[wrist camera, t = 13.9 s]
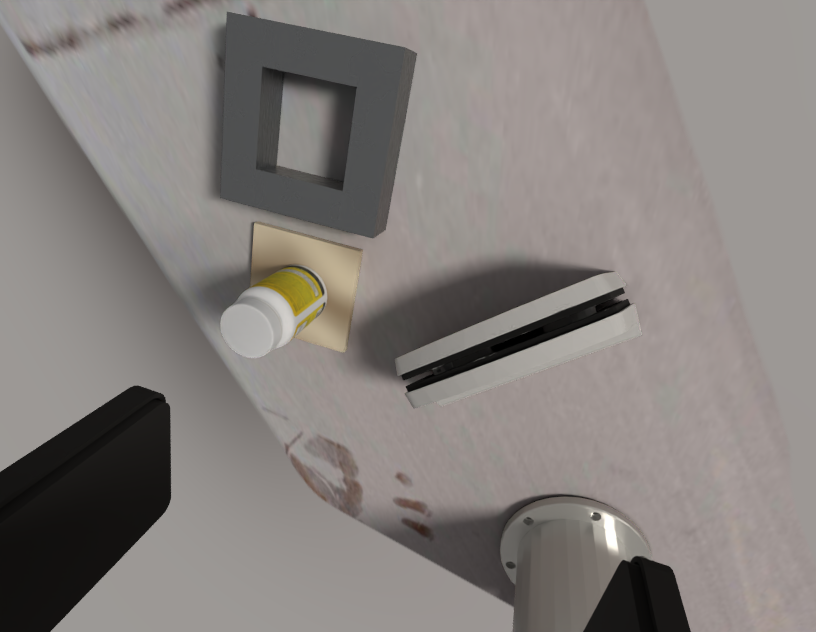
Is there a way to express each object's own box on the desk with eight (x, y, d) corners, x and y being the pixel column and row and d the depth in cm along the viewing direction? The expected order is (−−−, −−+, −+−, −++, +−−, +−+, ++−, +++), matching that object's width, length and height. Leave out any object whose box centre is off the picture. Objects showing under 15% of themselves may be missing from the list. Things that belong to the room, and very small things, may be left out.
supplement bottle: (274, 259, 40) (211, 292, 32) (329, 267, 39) (277, 303, 31) (276, 314, 42) (217, 357, 34) (328, 323, 41) (279, 369, 33)
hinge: (443, 404, 42) (392, 436, 32) (422, 351, 42) (367, 369, 33) (647, 331, 35) (656, 346, 26) (620, 270, 36) (619, 264, 27)
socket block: (385, 229, 37) (373, 238, 35) (242, 192, 39) (220, 197, 36) (417, 53, 32) (405, 47, 30) (251, 19, 34) (226, 11, 32)
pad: (346, 349, 42) (344, 352, 42) (251, 320, 43) (247, 323, 43) (362, 249, 38) (360, 251, 38) (258, 221, 40) (254, 222, 39)
